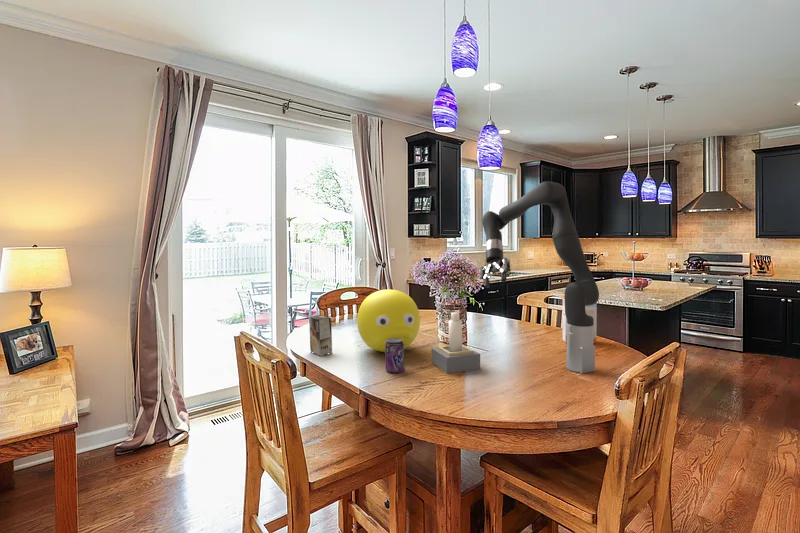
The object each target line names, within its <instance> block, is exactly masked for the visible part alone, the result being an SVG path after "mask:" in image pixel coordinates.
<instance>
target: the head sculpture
mask: <svg viewBox="0 0 800 533" xmlns="http://www.w3.org/2000/svg"><path fill="white" fill-rule="evenodd" d="M356 321H357V330H358V333H359V335H360V337H361V339H362V341H363V342H364V344H366V345H367V346H368V347H369V348H371V349H373V350H375V351H378V352H382V353H385V344H386V342H387V341H386V340H387V339H389V338H400V339H402V340H403V341H402V342H403V344H404V349H407V348H408V347H409V346H411V344H412V343H413V342H414V340H416V337H417V336H418V334H419V330H420V327H421V325H420V324H421V318H420V312H419V308H418V306H417V304H416V302H415V301H414V299H413V298H411V296H409V294H407V293H405V292H403V291H400V290H397V289H390V288H389V289H387V288H386V289H380V290H378V291H377V290H376V291H375V292H372V293H370V294H369V295H367V296H366V297H365V299H364V300H363V301H362V303H361V304H360V306H359V309H358V312H357V320H356Z"/></svg>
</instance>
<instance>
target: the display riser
mask: <svg viewBox="0 0 800 533" xmlns="http://www.w3.org/2000/svg"><path fill="white" fill-rule="evenodd" d="M432 362H433V363H434V364H435V365H434V364H433V363H432ZM431 363H432V364H433V365H434V366H436V365H437V366H438V367H439V368H438V367H437V366H436V367H437V368H438V369H440V370H441V369H442V370H443V372H444V373H445V372H446V373H445V374H447V373H448V374H454V373H453V372H456V373H462V372H461V371H463V372H470V371H477V370H481V353H479V352H477V351H476V350H474V349H472V348H470V347H467V346H466V345H464V344H462V351H459V352H449V344H448V345H442V346H441V345H440V346H437V347H432V348H431ZM442 370H441V371H442Z"/></svg>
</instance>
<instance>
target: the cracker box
mask: <svg viewBox="0 0 800 533" xmlns="http://www.w3.org/2000/svg"><path fill="white" fill-rule="evenodd" d="M597 304H598V302H597V303H595V304H594V305H589V306H585V311H586V314H587V315H589V316H592V317H593V319H594V331H593V344H597V319H598V318H597V316H598V315H597V311H598V310H597V306H598V305H597ZM562 341H563V343H565V344H567V318H566V315H565V300H564V297H562Z"/></svg>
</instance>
